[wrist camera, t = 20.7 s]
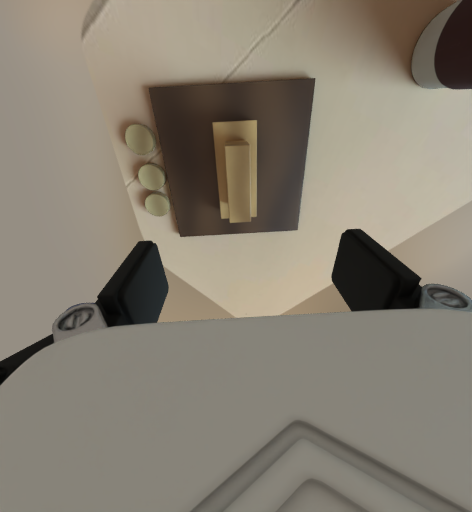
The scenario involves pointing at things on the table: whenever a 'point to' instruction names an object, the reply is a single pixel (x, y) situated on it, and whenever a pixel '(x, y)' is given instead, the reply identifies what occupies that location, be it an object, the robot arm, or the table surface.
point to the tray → (204, 160)
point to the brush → (236, 168)
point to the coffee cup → (446, 50)
